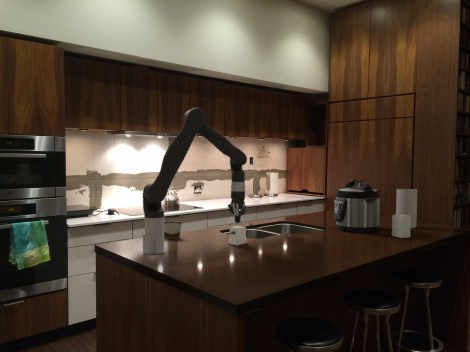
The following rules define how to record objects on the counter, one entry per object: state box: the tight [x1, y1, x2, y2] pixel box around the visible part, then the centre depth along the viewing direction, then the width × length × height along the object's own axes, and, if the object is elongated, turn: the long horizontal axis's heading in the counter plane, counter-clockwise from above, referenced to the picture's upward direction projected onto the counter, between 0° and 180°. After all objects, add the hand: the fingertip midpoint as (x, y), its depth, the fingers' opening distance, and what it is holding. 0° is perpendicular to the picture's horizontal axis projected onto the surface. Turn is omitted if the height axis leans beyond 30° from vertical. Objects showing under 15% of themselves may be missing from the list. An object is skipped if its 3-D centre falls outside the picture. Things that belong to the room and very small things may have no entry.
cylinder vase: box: [395, 188, 418, 229], centre depth 259 cm, size 12×12×25 cm
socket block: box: [228, 237, 248, 247], centre depth 206 cm, size 8×6×3 cm
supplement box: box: [391, 214, 412, 239], centre depth 228 cm, size 7×7×13 cm
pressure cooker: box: [333, 179, 381, 233], centre depth 250 cm, size 30×28×32 cm
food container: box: [164, 218, 183, 239], centre depth 224 cm, size 12×6×10 cm, turn 84°
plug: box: [229, 225, 247, 240], centre depth 206 cm, size 8×6×8 cm
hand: (237, 222), depth 206 cm, fingers closed
